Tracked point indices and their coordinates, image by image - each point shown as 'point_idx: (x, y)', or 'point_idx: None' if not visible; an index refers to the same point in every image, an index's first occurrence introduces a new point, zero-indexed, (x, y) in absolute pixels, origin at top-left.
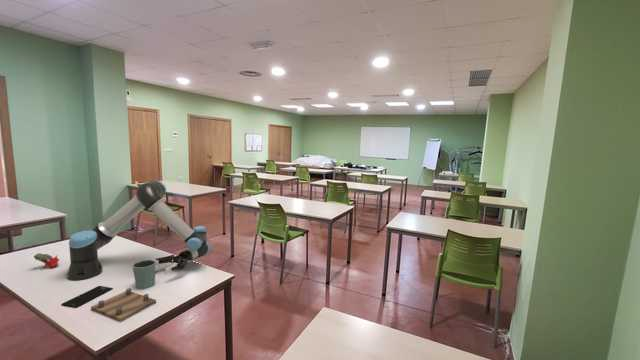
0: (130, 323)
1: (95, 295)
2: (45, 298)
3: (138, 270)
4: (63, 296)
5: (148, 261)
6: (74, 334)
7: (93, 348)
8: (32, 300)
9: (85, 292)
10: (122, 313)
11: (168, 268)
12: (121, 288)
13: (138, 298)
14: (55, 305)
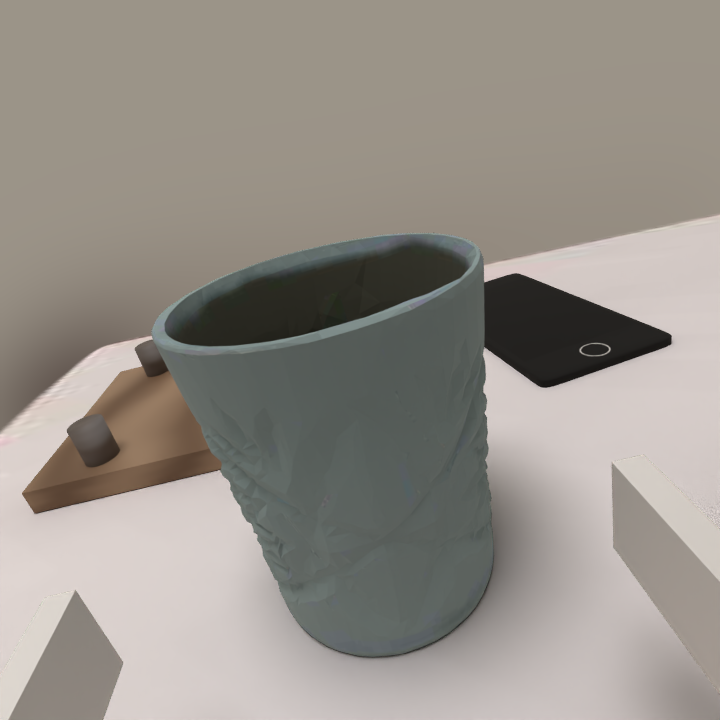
0: (74, 405)
1: (497, 330)
2: (656, 245)
3: (277, 296)
4: (628, 270)
5: (411, 330)
6: None
7: (112, 344)
8: (666, 230)
9: (592, 304)
10: (144, 377)
11: (13, 663)
12: (504, 419)
13: (173, 434)
14: (533, 270)
